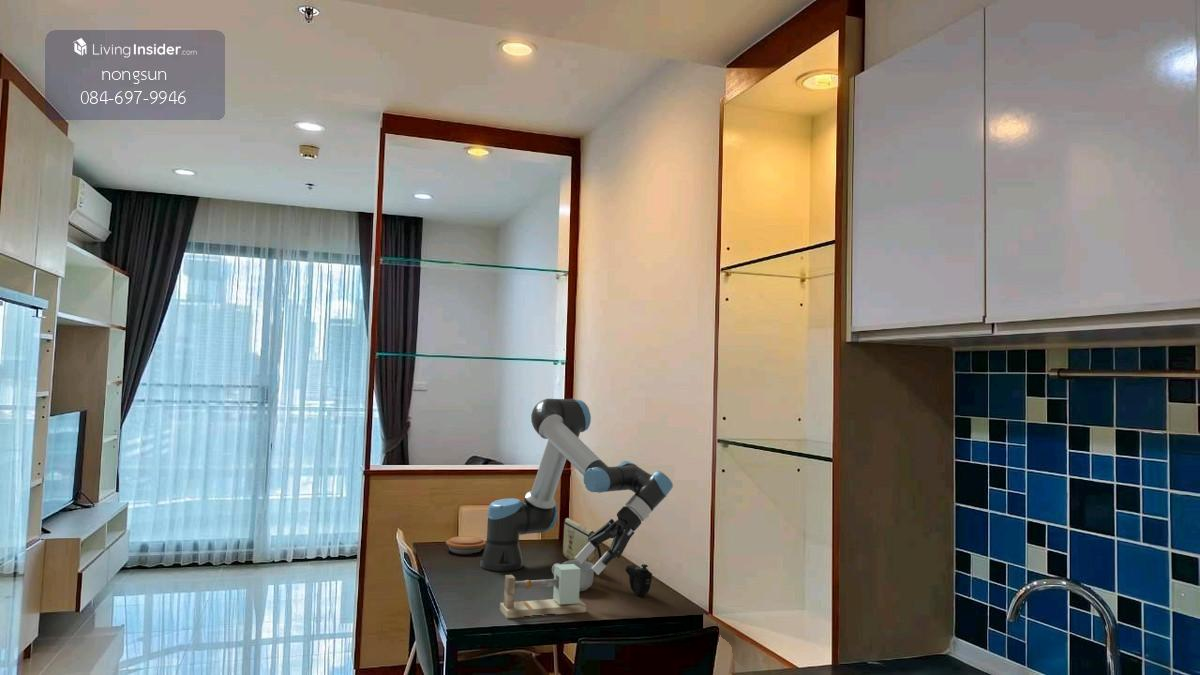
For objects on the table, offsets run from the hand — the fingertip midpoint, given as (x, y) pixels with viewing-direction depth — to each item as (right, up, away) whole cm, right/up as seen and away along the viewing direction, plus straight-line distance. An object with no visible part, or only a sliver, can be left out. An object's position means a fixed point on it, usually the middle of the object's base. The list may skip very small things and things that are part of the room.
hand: (586, 566), depth 224 cm
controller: (+16, -15, +18) cm, 28 cm away
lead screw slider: (-13, -12, -5) cm, 18 cm away
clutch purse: (-2, -16, +54) cm, 56 cm away
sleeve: (-6, -10, -2) cm, 12 cm away
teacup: (-5, -14, +21) cm, 26 cm away
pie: (-48, -15, +66) cm, 83 cm away
